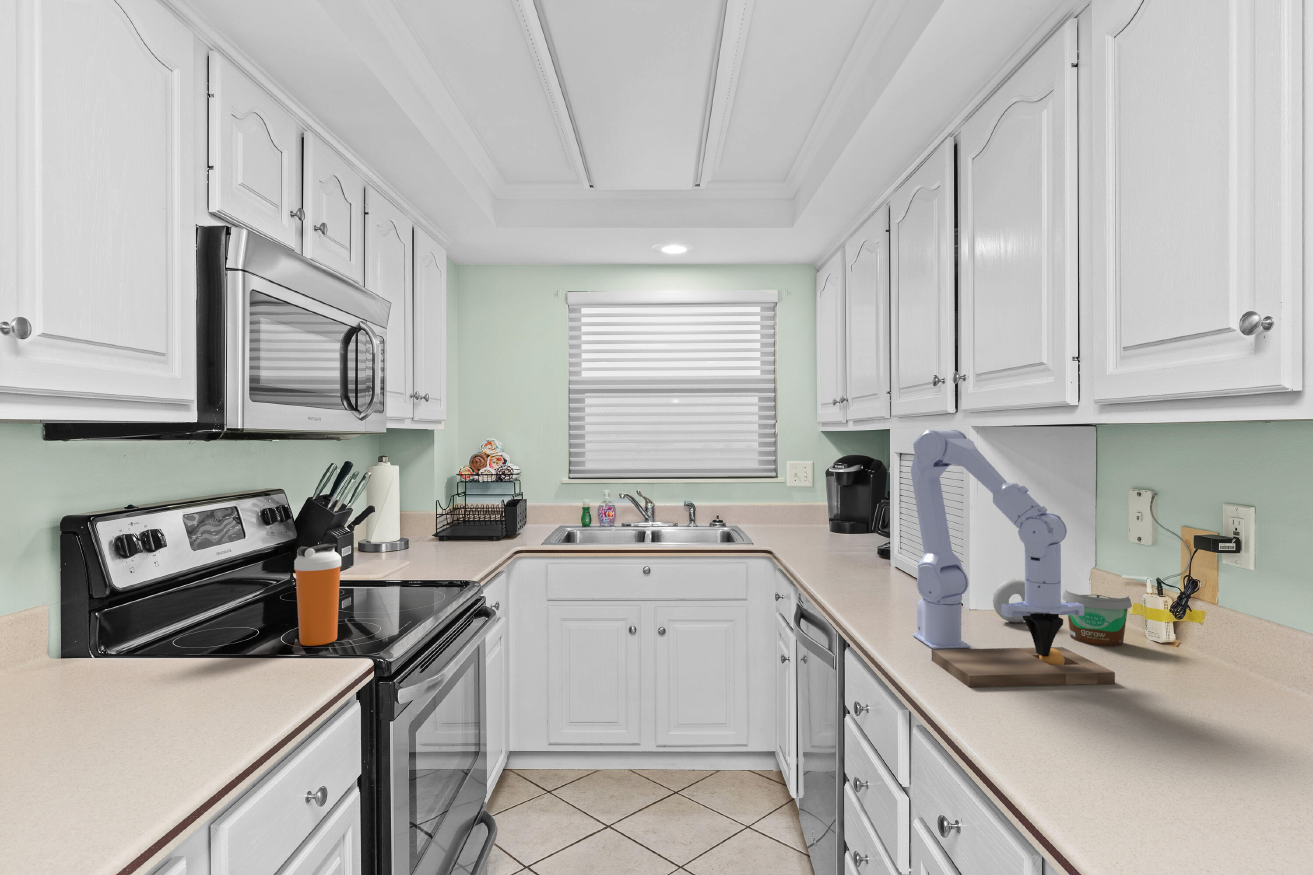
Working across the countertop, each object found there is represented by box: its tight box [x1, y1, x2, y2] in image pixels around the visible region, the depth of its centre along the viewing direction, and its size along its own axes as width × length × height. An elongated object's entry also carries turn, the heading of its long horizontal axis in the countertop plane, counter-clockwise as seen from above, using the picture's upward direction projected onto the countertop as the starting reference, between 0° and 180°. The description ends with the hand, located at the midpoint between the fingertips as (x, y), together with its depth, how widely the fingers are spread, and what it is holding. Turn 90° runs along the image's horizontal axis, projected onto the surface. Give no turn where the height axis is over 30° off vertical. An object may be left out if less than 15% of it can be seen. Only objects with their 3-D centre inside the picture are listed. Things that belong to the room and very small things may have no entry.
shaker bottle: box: [293, 543, 342, 647], centre depth 144 cm, size 9×9×20 cm
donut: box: [992, 578, 1025, 624], centre depth 156 cm, size 10×4×10 cm, turn 89°
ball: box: [1039, 648, 1065, 665], centre depth 125 cm, size 4×4×4 cm
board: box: [931, 646, 1116, 688], centre depth 125 cm, size 14×26×2 cm, turn 93°
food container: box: [1061, 589, 1132, 648], centre depth 141 cm, size 12×6×10 cm, turn 62°
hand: (1042, 654), depth 125 cm, fingers closed
